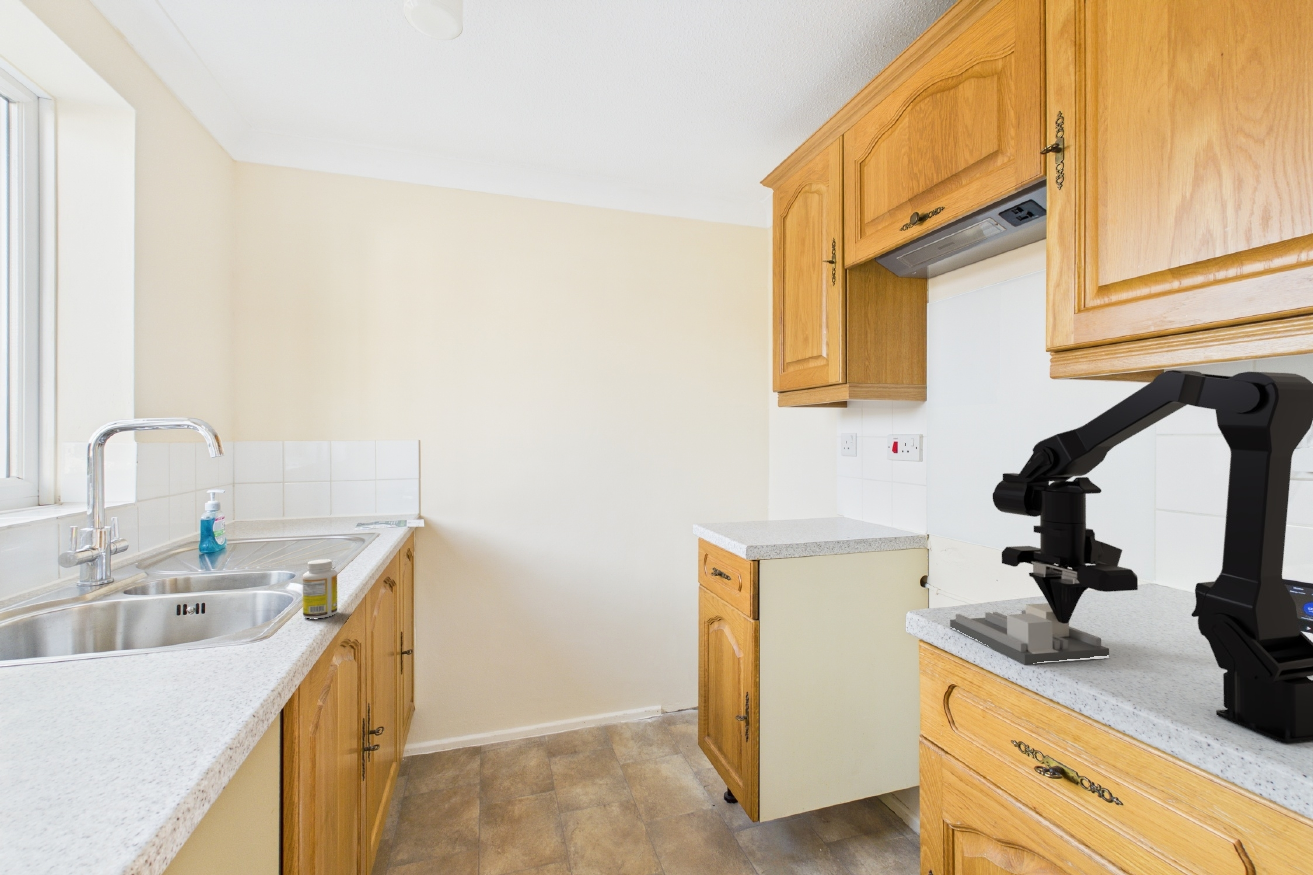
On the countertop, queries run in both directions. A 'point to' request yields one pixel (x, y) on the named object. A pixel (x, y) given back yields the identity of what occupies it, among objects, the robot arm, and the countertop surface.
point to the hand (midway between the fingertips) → (1063, 622)
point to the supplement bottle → (320, 589)
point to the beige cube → (1049, 618)
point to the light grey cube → (1030, 631)
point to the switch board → (996, 637)
